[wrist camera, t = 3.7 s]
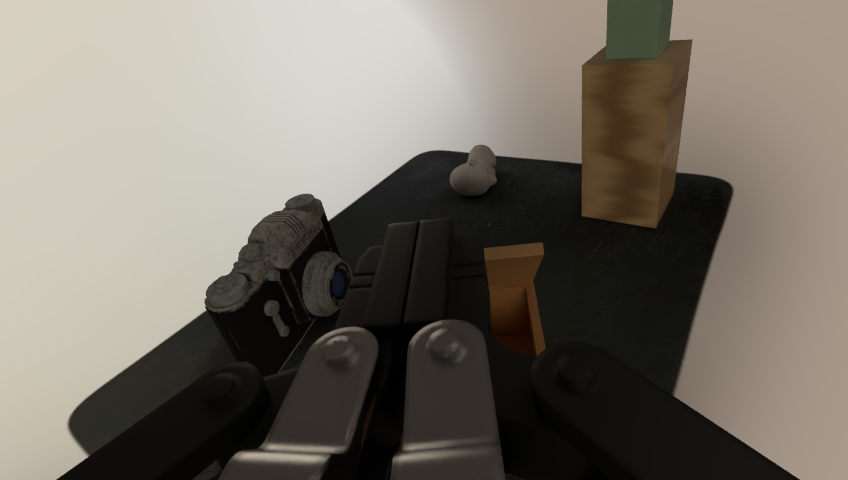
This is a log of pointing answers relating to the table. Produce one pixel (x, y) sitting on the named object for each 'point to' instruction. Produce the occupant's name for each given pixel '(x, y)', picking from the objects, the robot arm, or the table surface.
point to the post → (632, 134)
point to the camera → (279, 285)
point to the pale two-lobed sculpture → (475, 172)
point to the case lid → (513, 263)
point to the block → (637, 28)
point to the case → (516, 318)
